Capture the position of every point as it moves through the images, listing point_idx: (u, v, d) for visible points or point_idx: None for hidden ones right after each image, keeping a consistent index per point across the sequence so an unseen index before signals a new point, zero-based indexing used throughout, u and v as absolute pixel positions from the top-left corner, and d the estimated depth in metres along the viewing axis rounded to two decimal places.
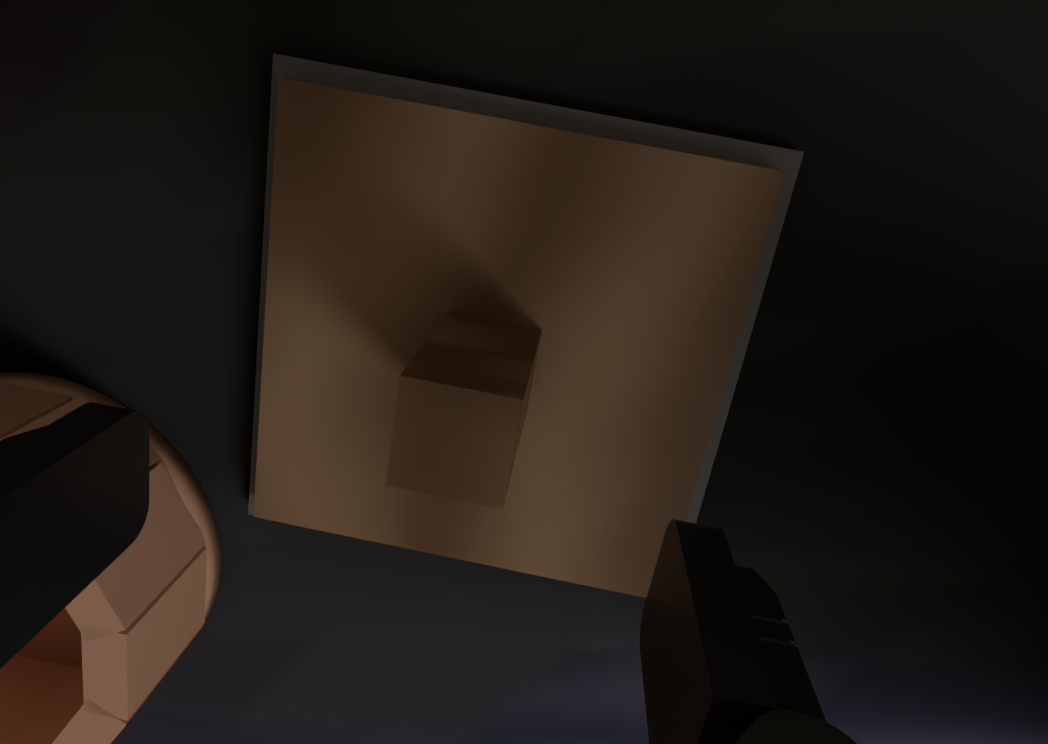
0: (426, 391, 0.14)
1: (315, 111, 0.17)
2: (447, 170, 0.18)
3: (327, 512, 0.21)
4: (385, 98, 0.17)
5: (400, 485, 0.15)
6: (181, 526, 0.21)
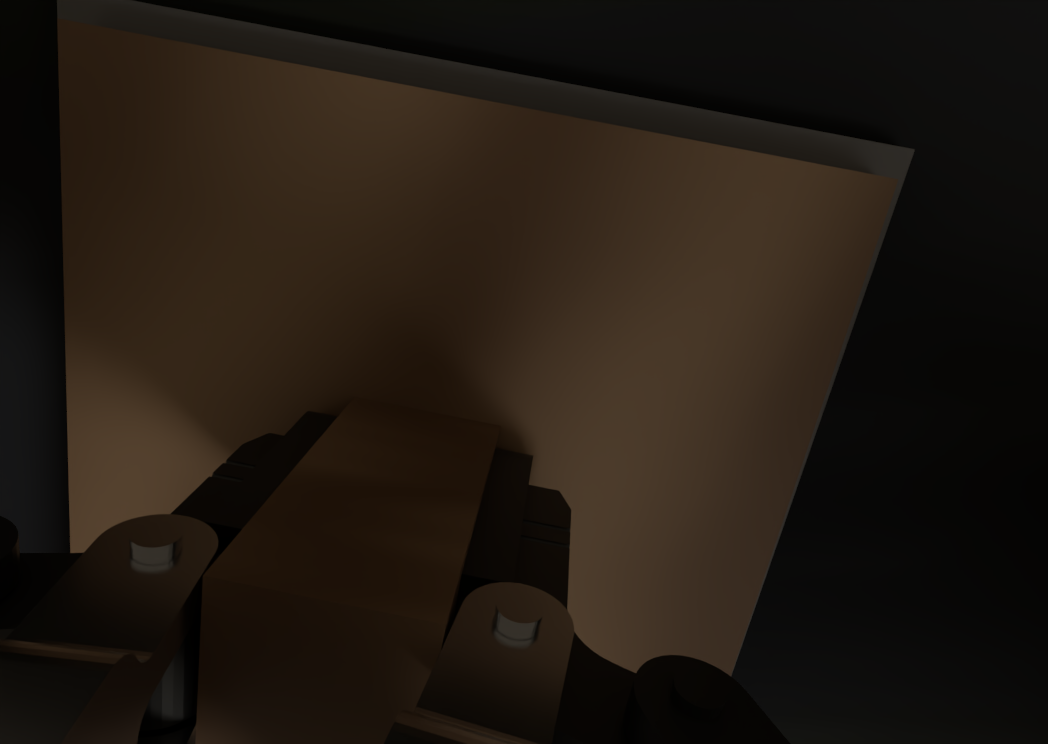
0: (255, 606, 0.07)
1: (122, 76, 0.11)
2: (342, 174, 0.11)
3: None
4: (235, 54, 0.10)
5: None
6: None
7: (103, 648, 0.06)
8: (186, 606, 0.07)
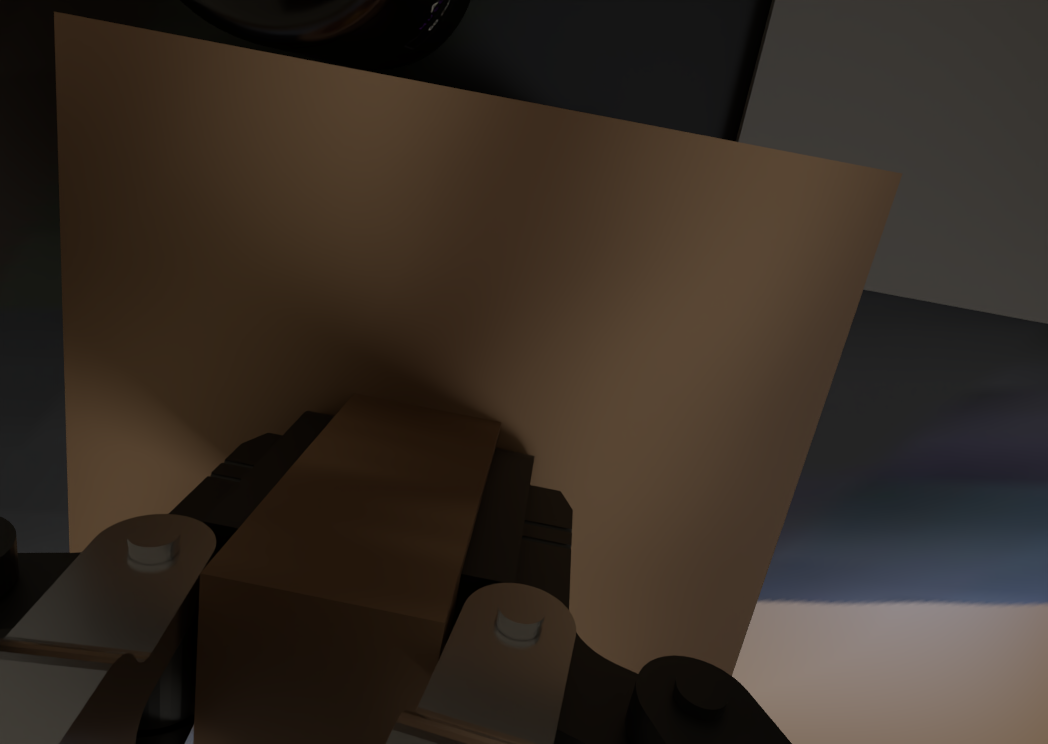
0: (253, 604, 0.07)
1: (120, 70, 0.10)
2: (342, 169, 0.11)
3: None
4: (234, 48, 0.10)
5: None
6: None
7: (101, 648, 0.06)
8: (183, 605, 0.07)
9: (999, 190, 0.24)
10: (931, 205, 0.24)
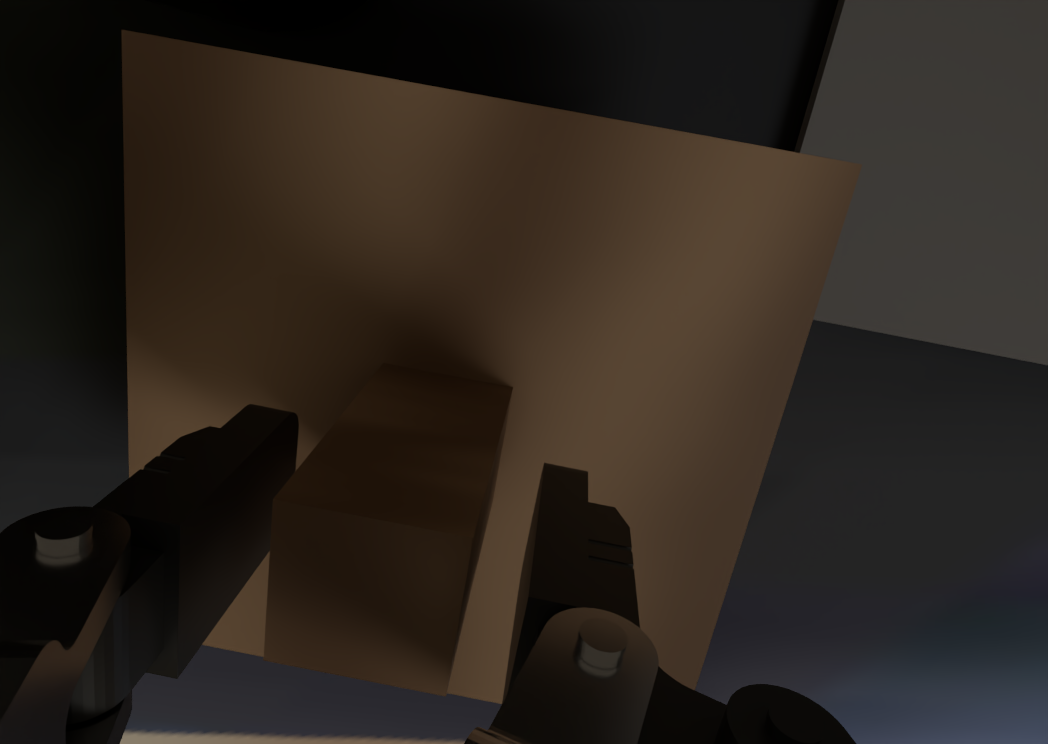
0: (315, 524, 0.09)
1: (178, 80, 0.12)
2: (372, 165, 0.12)
3: (230, 625, 0.16)
4: (278, 60, 0.12)
5: (285, 661, 0.09)
6: None
7: None
8: None
9: None
10: None
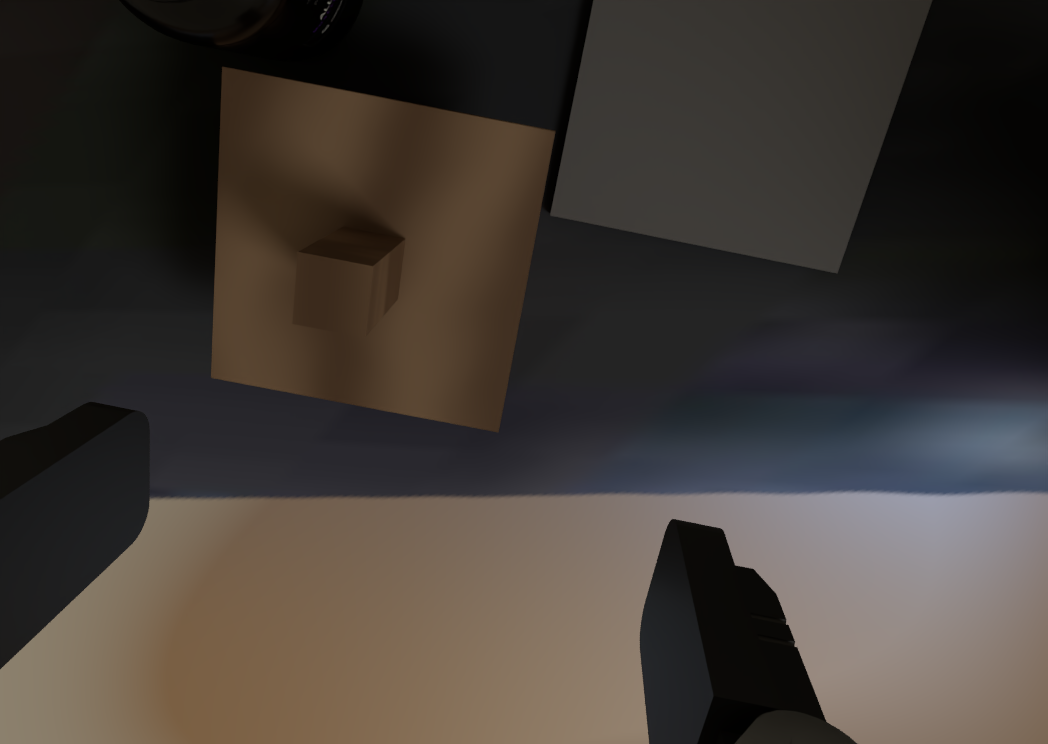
0: (314, 262, 0.23)
1: (247, 89, 0.26)
2: (337, 130, 0.27)
3: (264, 372, 0.30)
4: (294, 81, 0.26)
5: (301, 323, 0.24)
6: None
7: None
8: None
9: (764, 163, 0.31)
10: (715, 174, 0.31)
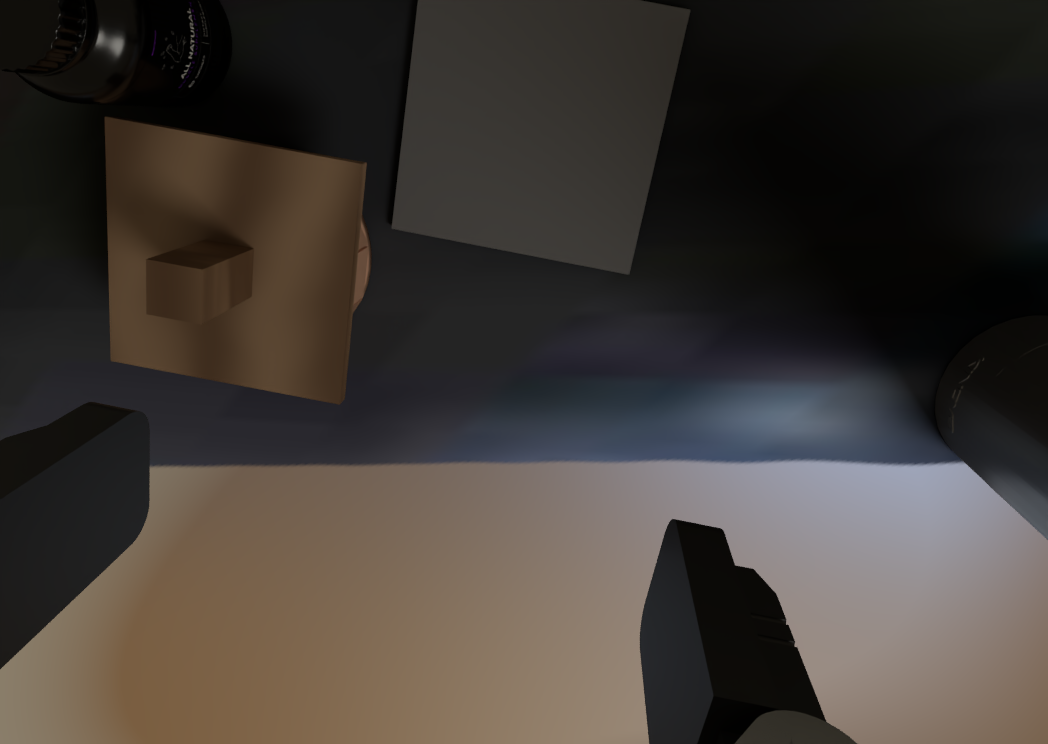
0: (158, 266, 0.31)
1: (125, 134, 0.34)
2: (195, 164, 0.34)
3: (151, 356, 0.37)
4: (159, 127, 0.34)
5: (153, 314, 0.31)
6: None
7: None
8: None
9: (560, 185, 0.38)
10: (521, 194, 0.38)
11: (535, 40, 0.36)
